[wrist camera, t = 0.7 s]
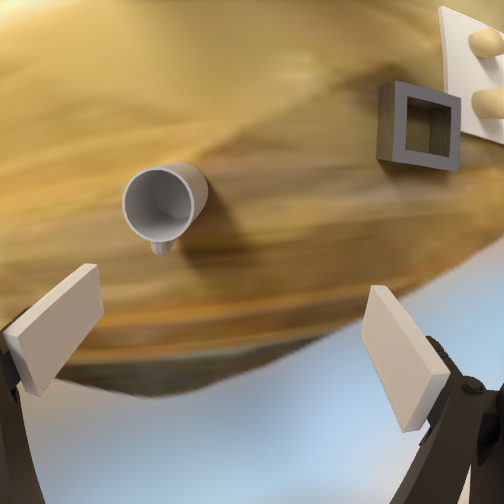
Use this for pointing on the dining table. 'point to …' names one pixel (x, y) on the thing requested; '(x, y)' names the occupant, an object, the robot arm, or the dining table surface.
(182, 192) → the cup
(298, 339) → the dining table surface
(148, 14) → the dining table surface
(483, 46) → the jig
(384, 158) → the collar
